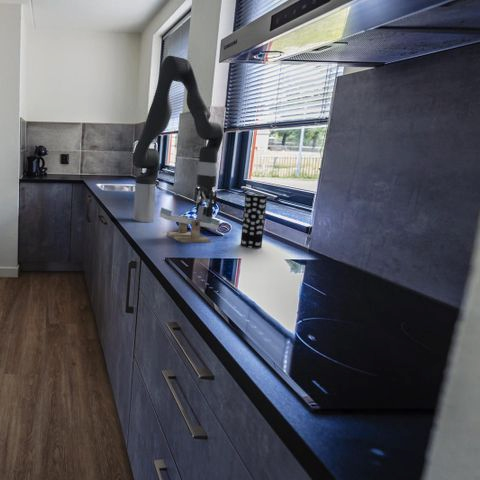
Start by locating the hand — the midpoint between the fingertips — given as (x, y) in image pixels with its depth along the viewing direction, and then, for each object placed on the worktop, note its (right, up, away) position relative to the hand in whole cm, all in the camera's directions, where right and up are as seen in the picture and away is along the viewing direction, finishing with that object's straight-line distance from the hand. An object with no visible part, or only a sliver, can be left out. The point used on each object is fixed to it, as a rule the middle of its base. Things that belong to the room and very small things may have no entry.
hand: (203, 215), depth 172 cm
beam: (-5, -2, -3) cm, 7 cm away
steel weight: (0, -3, +1) cm, 3 cm away
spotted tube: (+19, -12, -3) cm, 23 cm away
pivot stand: (-6, -9, -1) cm, 11 cm away
